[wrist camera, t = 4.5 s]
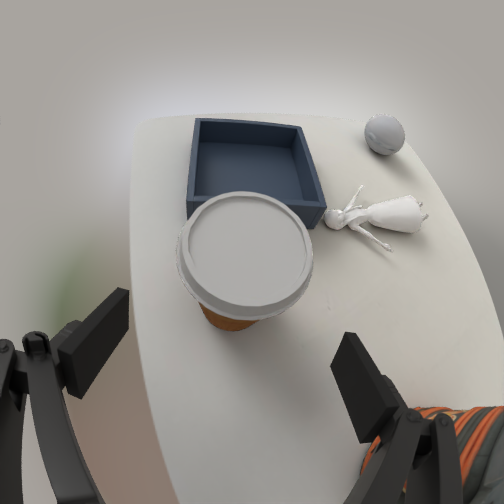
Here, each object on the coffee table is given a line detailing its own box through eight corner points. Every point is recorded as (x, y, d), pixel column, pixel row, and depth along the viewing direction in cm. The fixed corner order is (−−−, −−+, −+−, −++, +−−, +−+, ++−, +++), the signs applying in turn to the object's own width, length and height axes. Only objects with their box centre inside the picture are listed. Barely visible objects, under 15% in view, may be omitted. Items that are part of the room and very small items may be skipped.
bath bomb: (372, 163, 44) (392, 131, 37) (350, 135, 47) (366, 103, 40) (399, 163, 46) (419, 135, 39) (378, 136, 50) (394, 108, 43)
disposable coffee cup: (172, 278, 28) (156, 208, 18) (251, 249, 31) (276, 174, 21) (208, 362, 25) (210, 341, 14) (292, 323, 28) (344, 277, 17)
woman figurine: (445, 236, 32) (346, 250, 29) (429, 251, 36) (332, 267, 33) (412, 175, 38) (315, 173, 35) (400, 192, 41) (307, 194, 38)
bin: (187, 226, 31) (186, 201, 27) (194, 142, 39) (195, 117, 35) (313, 229, 34) (327, 207, 30) (293, 148, 42) (301, 126, 38)
